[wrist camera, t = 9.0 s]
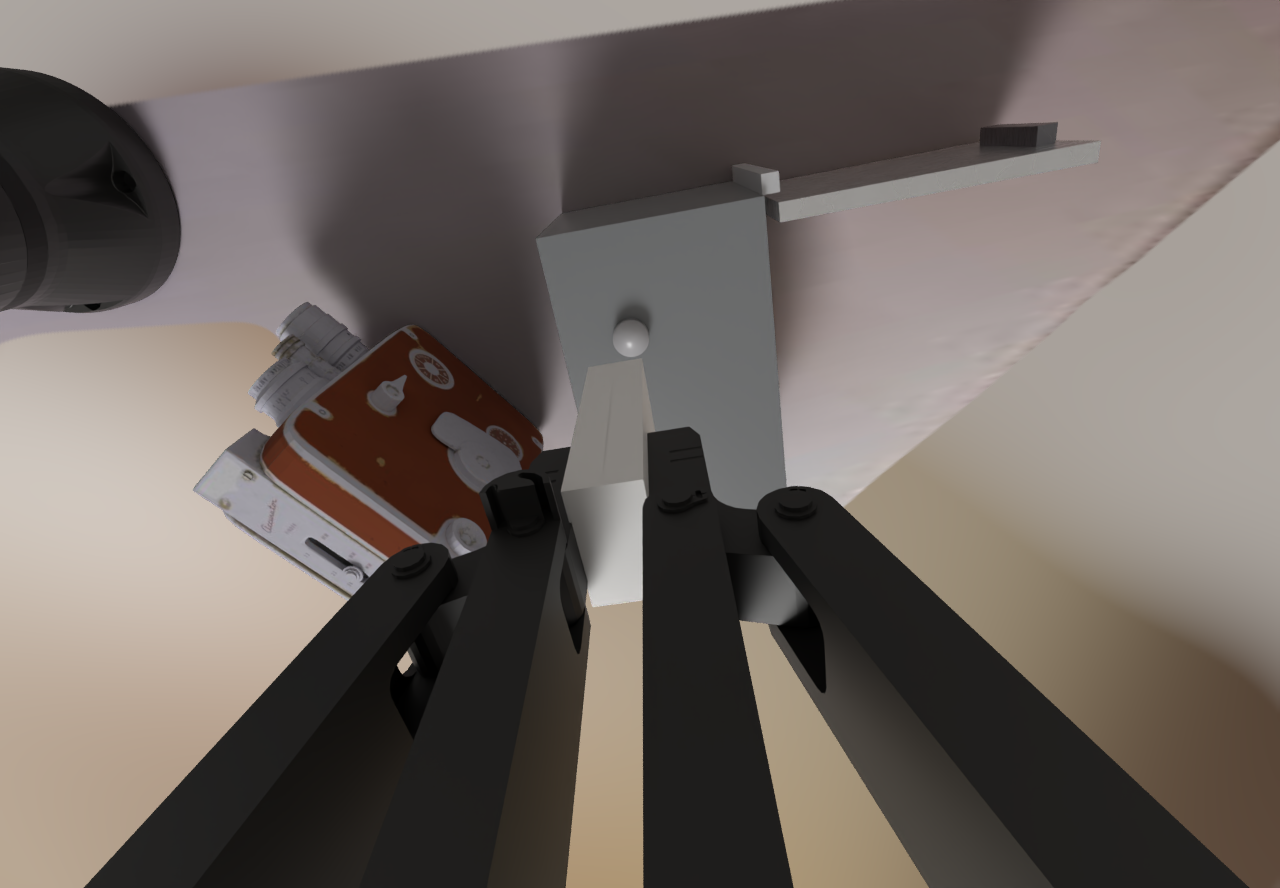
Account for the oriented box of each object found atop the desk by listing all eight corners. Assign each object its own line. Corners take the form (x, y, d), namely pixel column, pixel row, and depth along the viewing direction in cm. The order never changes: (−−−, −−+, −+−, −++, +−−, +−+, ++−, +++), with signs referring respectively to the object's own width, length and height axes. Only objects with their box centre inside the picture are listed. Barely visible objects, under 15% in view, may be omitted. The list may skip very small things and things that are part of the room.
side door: (985, 156, 40) (1097, 162, 30) (746, 202, 41) (780, 222, 32) (988, 123, 39) (1104, 118, 29) (743, 171, 41) (777, 181, 31)
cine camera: (364, 251, 43) (172, 330, 26) (561, 427, 50) (518, 588, 32) (295, 337, 46) (79, 461, 28) (490, 493, 53) (413, 674, 35)
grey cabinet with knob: (622, 486, 52) (617, 583, 41) (558, 198, 42) (527, 220, 30) (770, 464, 51) (807, 557, 40) (743, 162, 41) (784, 172, 29)
